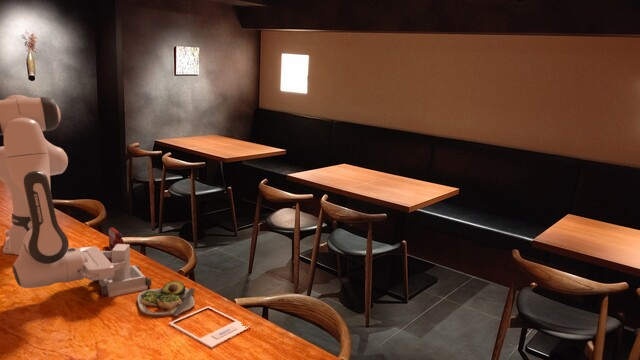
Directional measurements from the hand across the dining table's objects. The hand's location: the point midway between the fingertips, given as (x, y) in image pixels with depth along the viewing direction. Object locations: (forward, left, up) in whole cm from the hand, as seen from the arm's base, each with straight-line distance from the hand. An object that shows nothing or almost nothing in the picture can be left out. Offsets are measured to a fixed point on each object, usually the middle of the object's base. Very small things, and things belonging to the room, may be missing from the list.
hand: (120, 258), depth 165 cm
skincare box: (0, 0, -8) cm, 8 cm away
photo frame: (+39, +13, -10) cm, 42 cm away
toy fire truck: (-23, +5, -9) cm, 25 cm away
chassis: (0, 0, -9) cm, 9 cm away
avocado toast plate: (+19, +8, -10) cm, 23 cm away
